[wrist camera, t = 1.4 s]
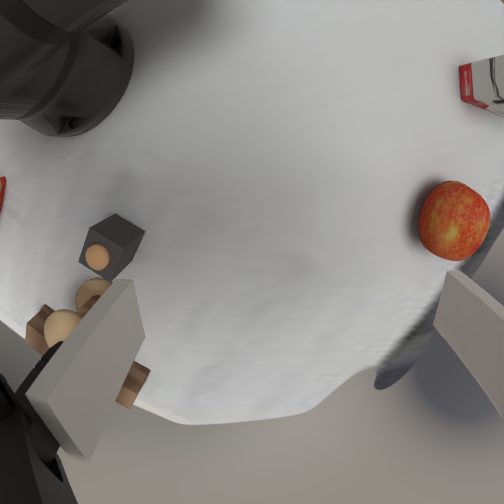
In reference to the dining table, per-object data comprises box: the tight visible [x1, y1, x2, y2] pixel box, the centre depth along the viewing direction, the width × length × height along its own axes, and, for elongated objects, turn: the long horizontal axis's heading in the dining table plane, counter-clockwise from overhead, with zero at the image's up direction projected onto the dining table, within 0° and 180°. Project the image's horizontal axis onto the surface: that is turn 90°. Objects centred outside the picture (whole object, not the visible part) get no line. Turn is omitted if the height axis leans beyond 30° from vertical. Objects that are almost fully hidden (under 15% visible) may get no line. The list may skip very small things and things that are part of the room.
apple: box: [419, 181, 490, 261], centre depth 27 cm, size 8×8×8 cm
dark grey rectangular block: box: [79, 214, 145, 282], centre depth 29 cm, size 4×4×7 cm
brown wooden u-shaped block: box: [25, 304, 150, 409], centre depth 35 cm, size 18×4×5 cm, turn 59°
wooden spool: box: [44, 278, 113, 348], centre depth 31 cm, size 8×8×9 cm
